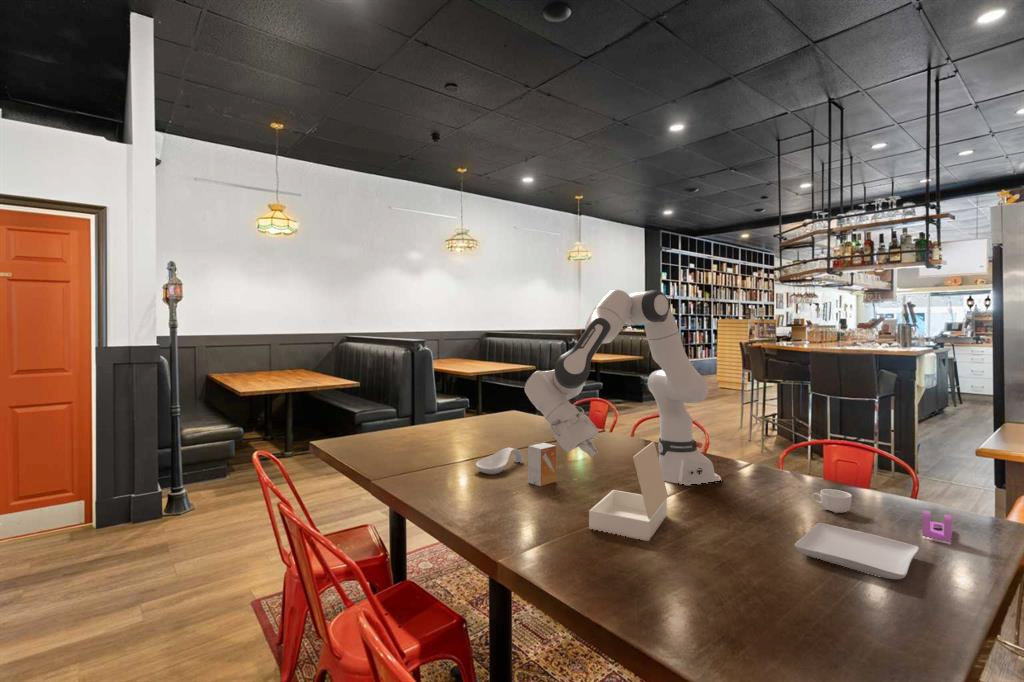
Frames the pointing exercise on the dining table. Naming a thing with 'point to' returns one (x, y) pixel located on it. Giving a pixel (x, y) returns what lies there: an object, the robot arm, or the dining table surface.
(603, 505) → the tray
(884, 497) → the dining table surface
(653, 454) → the mailer lid
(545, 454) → the small box
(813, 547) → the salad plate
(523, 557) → the dining table surface
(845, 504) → the teacup
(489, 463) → the spoon rest
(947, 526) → the bracket
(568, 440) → the robot arm
